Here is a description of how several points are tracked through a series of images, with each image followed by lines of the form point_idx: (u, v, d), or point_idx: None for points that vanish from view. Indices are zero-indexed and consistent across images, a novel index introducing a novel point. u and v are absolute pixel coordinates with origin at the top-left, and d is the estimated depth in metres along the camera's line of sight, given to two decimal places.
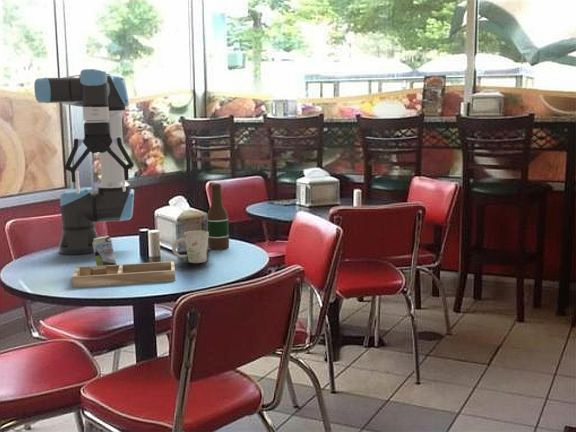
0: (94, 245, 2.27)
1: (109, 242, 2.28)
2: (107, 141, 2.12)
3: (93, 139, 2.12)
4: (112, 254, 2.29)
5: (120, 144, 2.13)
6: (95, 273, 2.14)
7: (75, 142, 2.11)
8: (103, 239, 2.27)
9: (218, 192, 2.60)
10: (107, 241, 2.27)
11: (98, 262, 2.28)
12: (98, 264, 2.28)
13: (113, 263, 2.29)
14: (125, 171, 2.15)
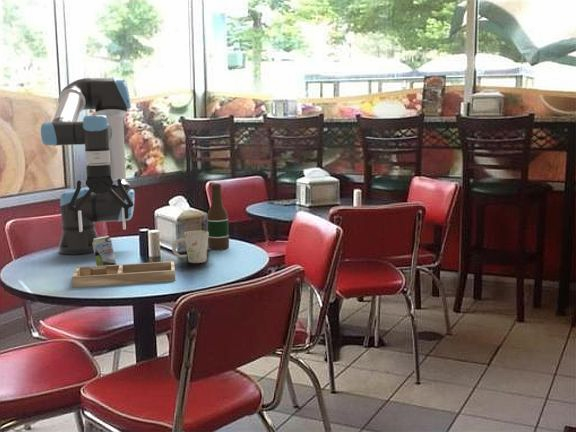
0: (94, 245, 2.27)
1: (109, 242, 2.28)
2: (108, 182, 2.25)
3: (95, 181, 2.24)
4: (112, 254, 2.29)
5: (120, 185, 2.26)
6: (95, 273, 2.14)
7: (78, 184, 2.23)
8: (103, 239, 2.27)
9: (218, 192, 2.60)
10: (107, 241, 2.27)
11: (98, 262, 2.28)
12: (98, 264, 2.28)
13: (113, 263, 2.29)
14: (125, 210, 2.28)
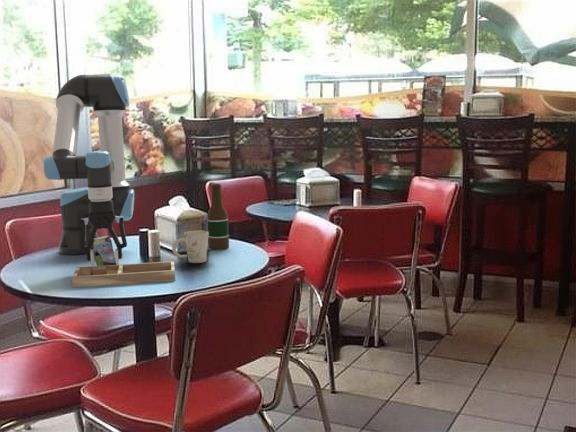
0: (94, 245, 2.27)
1: (109, 242, 2.28)
2: (110, 217, 2.27)
3: (96, 214, 2.26)
4: (112, 254, 2.29)
5: (121, 224, 2.28)
6: (95, 273, 2.14)
7: (82, 222, 2.26)
8: (103, 239, 2.27)
9: (218, 192, 2.60)
10: (107, 241, 2.27)
11: (98, 262, 2.28)
12: (98, 264, 2.28)
13: (113, 263, 2.29)
14: (119, 250, 2.30)
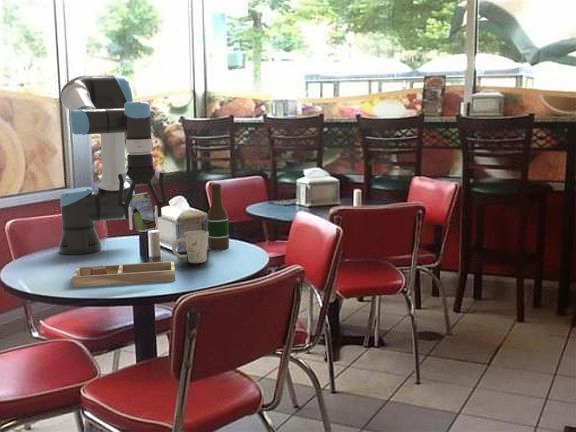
0: (133, 201, 2.14)
1: (148, 198, 2.15)
2: (150, 172, 2.14)
3: (135, 169, 2.13)
4: (151, 211, 2.15)
5: (161, 179, 2.15)
6: (95, 273, 2.14)
7: (120, 177, 2.12)
8: (142, 195, 2.14)
9: (218, 192, 2.60)
10: (146, 197, 2.14)
11: (137, 220, 2.14)
12: (137, 222, 2.14)
13: (152, 221, 2.15)
14: (158, 208, 2.16)
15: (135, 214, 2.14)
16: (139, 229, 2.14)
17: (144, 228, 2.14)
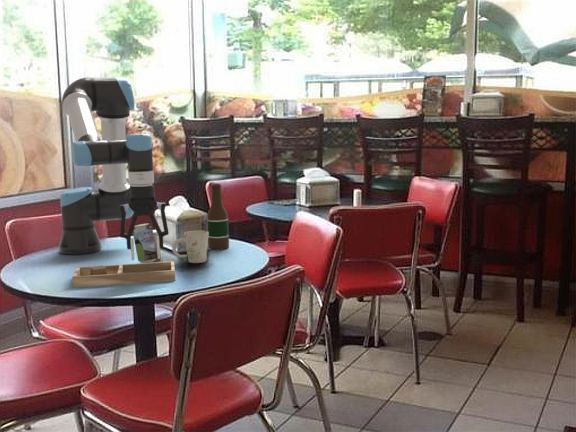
0: (134, 233, 2.15)
1: (150, 229, 2.16)
2: (152, 204, 2.15)
3: (137, 200, 2.14)
4: (153, 242, 2.17)
5: (163, 210, 2.16)
6: (95, 273, 2.14)
7: (122, 209, 2.14)
8: (144, 226, 2.15)
9: (218, 192, 2.60)
10: (148, 228, 2.16)
11: (139, 251, 2.16)
12: (139, 253, 2.16)
13: (154, 252, 2.17)
14: (160, 239, 2.18)
15: (137, 245, 2.16)
16: (141, 260, 2.16)
17: (146, 259, 2.15)
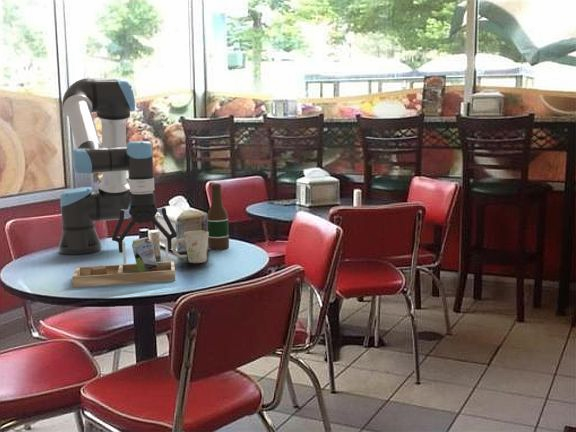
0: (134, 247, 2.16)
1: (149, 243, 2.17)
2: (152, 211, 2.16)
3: (139, 209, 2.15)
4: (153, 256, 2.18)
5: (165, 214, 2.16)
6: (95, 273, 2.14)
7: (121, 213, 2.14)
8: (143, 240, 2.16)
9: (218, 192, 2.60)
10: (147, 242, 2.17)
11: (139, 265, 2.17)
12: (139, 267, 2.17)
13: (155, 265, 2.18)
14: (168, 241, 2.18)
15: (137, 259, 2.17)
16: None
17: None
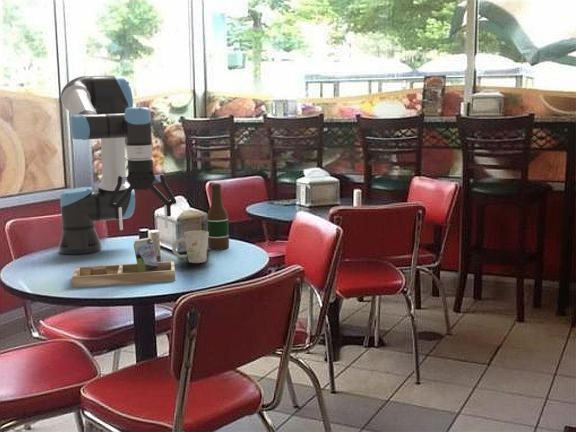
0: (136, 247, 2.16)
1: (151, 244, 2.17)
2: (150, 178, 2.14)
3: (137, 176, 2.13)
4: (154, 257, 2.18)
5: (163, 181, 2.15)
6: (95, 273, 2.14)
7: (119, 179, 2.12)
8: (145, 241, 2.16)
9: (218, 192, 2.60)
10: (149, 243, 2.16)
11: (140, 265, 2.17)
12: (140, 267, 2.17)
13: (155, 266, 2.18)
14: (168, 207, 2.17)
15: (138, 260, 2.17)
16: None
17: None
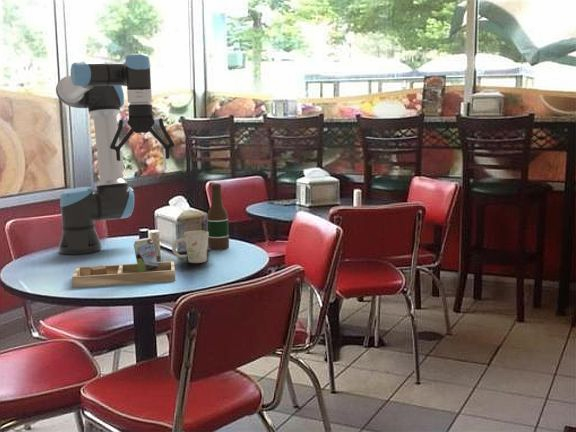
0: (136, 247, 2.16)
1: (151, 244, 2.17)
2: (150, 122, 2.26)
3: (137, 120, 2.26)
4: (154, 257, 2.18)
5: (162, 125, 2.27)
6: (95, 273, 2.14)
7: (120, 123, 2.25)
8: (145, 241, 2.16)
9: (218, 192, 2.60)
10: (149, 243, 2.16)
11: (140, 265, 2.17)
12: (140, 267, 2.17)
13: (155, 266, 2.18)
14: (166, 150, 2.29)
15: (138, 260, 2.17)
16: None
17: None
